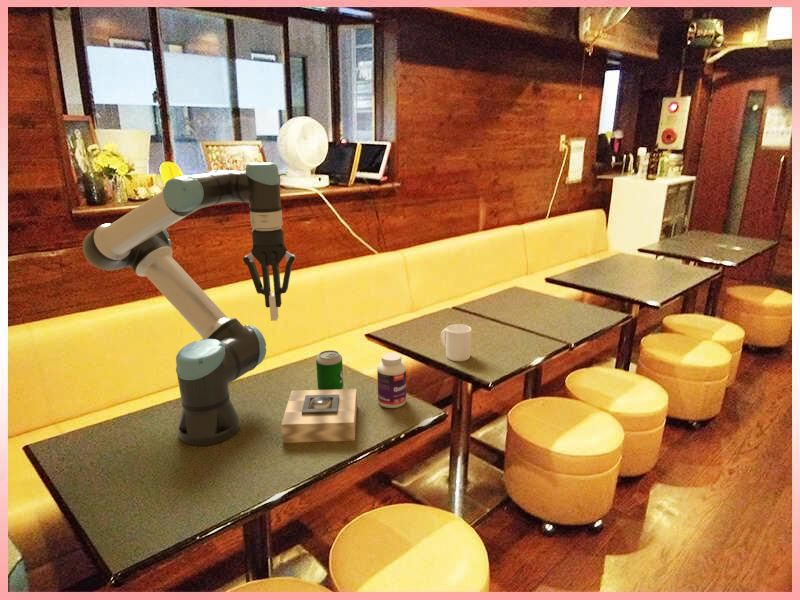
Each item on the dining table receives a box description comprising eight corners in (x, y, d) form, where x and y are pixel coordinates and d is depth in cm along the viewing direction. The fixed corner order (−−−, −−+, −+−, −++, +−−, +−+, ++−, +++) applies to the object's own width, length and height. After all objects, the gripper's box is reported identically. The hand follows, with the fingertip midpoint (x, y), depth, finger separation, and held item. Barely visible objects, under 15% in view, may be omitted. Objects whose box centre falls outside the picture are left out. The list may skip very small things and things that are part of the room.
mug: (432, 353, 192) (433, 325, 189) (448, 347, 198) (449, 319, 194) (459, 364, 184) (460, 335, 181) (475, 356, 189) (476, 328, 186)
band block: (282, 442, 140) (281, 421, 139) (292, 407, 158) (291, 388, 156) (354, 440, 141) (353, 419, 139) (356, 405, 158) (356, 386, 156)
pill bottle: (396, 412, 154) (395, 364, 150) (372, 405, 158) (371, 358, 154) (411, 400, 161) (411, 354, 156) (388, 393, 165) (387, 348, 160)
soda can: (339, 398, 162) (337, 360, 158) (314, 396, 164) (312, 358, 160) (346, 386, 169) (345, 350, 165) (322, 384, 171) (320, 348, 167)
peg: (311, 425, 147) (310, 406, 145) (313, 415, 151) (312, 396, 150) (330, 425, 147) (329, 405, 145) (332, 415, 152) (331, 396, 150)
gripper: (236, 231, 133) (245, 324, 140) (292, 230, 133) (298, 323, 140) (243, 225, 140) (252, 314, 147) (296, 224, 140) (302, 313, 148)
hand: (274, 318), depth 144 cm, fingers closed
